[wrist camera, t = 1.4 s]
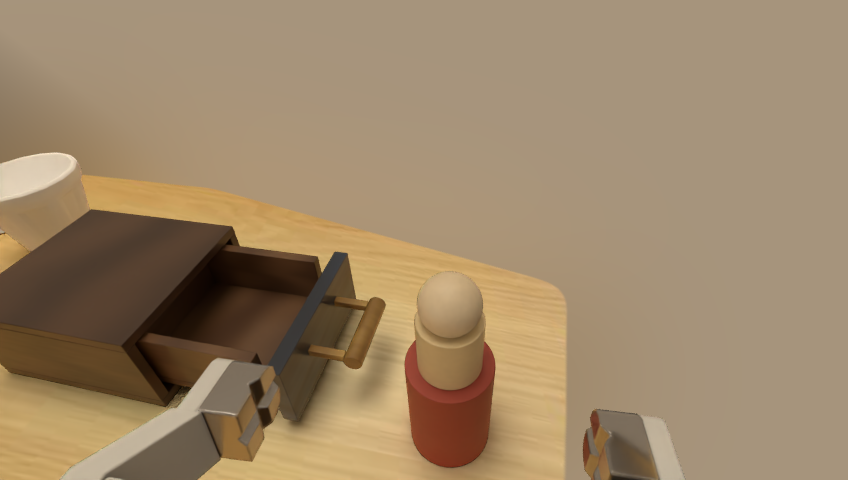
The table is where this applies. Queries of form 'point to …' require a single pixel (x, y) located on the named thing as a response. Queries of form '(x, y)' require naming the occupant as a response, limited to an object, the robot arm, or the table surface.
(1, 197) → the cup
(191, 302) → the drawer
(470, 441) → the doll
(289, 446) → the table surface
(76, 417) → the table surface
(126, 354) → the cabinet
